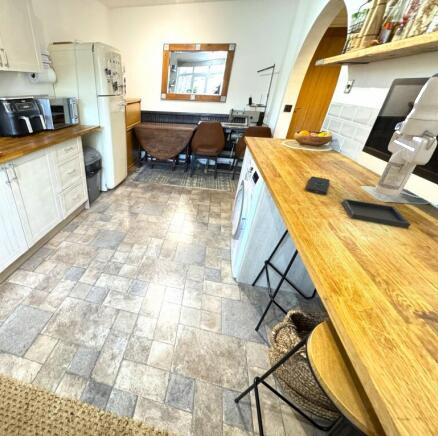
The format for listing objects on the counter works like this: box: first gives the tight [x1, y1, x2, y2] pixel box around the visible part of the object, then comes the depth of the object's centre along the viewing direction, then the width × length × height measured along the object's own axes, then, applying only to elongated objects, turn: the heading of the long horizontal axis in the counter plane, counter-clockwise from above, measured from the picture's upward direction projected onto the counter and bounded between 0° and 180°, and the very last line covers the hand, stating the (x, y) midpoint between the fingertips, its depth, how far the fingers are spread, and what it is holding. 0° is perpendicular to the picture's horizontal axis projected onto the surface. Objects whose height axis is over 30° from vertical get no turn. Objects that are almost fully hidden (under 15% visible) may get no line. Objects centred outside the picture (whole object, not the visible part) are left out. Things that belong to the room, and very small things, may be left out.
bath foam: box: [374, 150, 417, 197], centre depth 83 cm, size 7×7×20 cm
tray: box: [341, 198, 412, 229], centre depth 92 cm, size 17×15×2 cm
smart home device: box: [305, 175, 331, 196], centre depth 117 cm, size 8×2×20 cm
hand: (396, 170), depth 84 cm, fingers closed on bath foam, 7 cm apart
